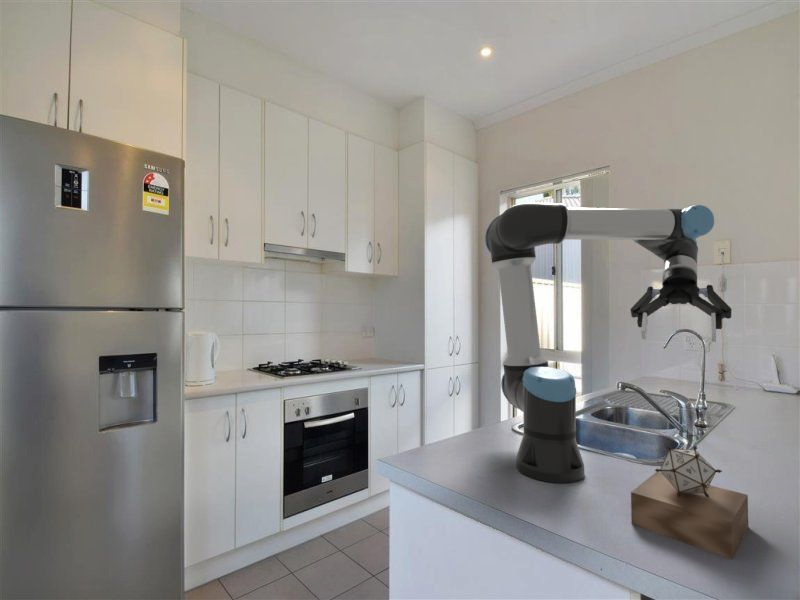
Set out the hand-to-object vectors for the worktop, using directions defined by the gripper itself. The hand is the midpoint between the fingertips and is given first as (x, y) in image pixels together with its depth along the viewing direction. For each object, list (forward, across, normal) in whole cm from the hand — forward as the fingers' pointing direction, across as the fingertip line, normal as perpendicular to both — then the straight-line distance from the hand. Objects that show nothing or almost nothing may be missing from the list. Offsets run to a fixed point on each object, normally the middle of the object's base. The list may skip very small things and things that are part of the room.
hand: (677, 336), depth 95 cm
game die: (+37, -2, 0) cm, 37 cm away
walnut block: (+41, -3, -4) cm, 42 cm away
